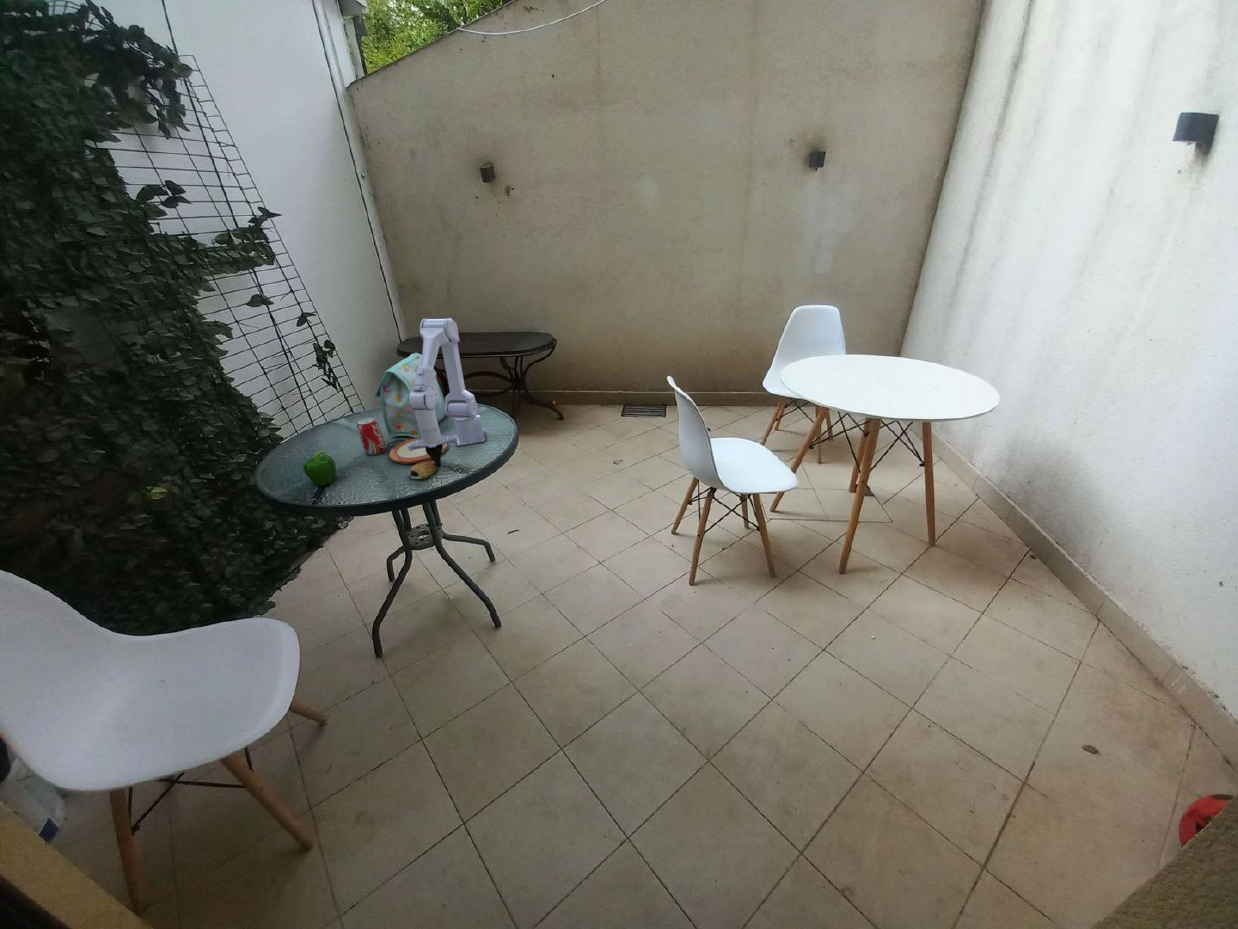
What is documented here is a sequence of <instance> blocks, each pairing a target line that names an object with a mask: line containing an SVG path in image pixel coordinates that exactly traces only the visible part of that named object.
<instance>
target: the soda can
mask: <svg viewBox="0 0 1238 929" xmlns="http://www.w3.org/2000/svg"><path fill="white" fill-rule="evenodd" d="M356 424H357V425H356V430H357V434H358V436H359V437H358V438H359V439H360V443H361V445H362V448H363V450H364V452H365V454H367V455H371V456H375V455H378V454H381V453H383V452H384V451H385V450H386V448H387V446H386V442H385V439H384V436H383V432H382V429H381V426H380V424H379V422H378V421H377V420H376V418H375V417H371V416H370V417H369V416H368V417H363V418H360V419H359V420H357V421H356Z"/></svg>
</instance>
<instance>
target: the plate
mask: <svg viewBox="0 0 1238 929" xmlns="http://www.w3.org/2000/svg"><path fill="white" fill-rule="evenodd" d="M419 440H422V437H420V438H415V437H414V438H411V439H408V440H406V441H402V442H401V443H399V444H397V445H396V446H394V447H393V448H392V449H391V450H390V451H389V458H390V460H391V461H392V462H394V463H398V464H403V465H404V464H406V465H408V464H418V463H422V462H427V461H430V460H433V459H432V458H431V457H430V456H429V455H428V454H427V453H426V449H425V448H420V449H414V450H413V451H409V448H408V443H412V442H416V441H419ZM447 448H448V444H443V448H442V453H441V454H443V453H444V452H445V451H446V450H447Z"/></svg>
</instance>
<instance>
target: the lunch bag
mask: <svg viewBox="0 0 1238 929" xmlns="http://www.w3.org/2000/svg"><path fill="white" fill-rule="evenodd" d="M421 363H422V353H418V352H414V353H411V354H410V355H409V356H408V357H406V358H403V359H402V360H400V361H398V362H397V363H396V364H395V365H394V364H393V365H392V366H391V367H390V368H388V369H387V370H385V371H384V373H383V376H382V379H381V380H380V382H379V384H378V386H377V388H376V390H375V393H374V396H375V398H379V399H380V407H381V412H382V418H383V422H384V426H385V429H386V432H387V434H388V436H390V437H402V436H403V437H404V436H405V437H406V436H407V437H411V438H414V439H415V438H420V437H421V434H420V430H419V427H418V423H417V420H416V416H415V415H414V414H413V413H412V410H411V409H410V408H409V407H408V405H407V403H408V401H407V397H408V394H409V393H410V392H411V391H413V386H414V381H415V375H416V370H417V368H419V367H420V366H421ZM434 391H435V397H436V404H435V407H434V410H435V414H436V418H437V422H438V423H439V422H440V421H442V420H443V419H444V418H446V417H448V415H447V413H446V411H445V397H444V395H443V392H442V389H441V387H440V384H439V382H438V379H437V378H436V379H435V385H434Z"/></svg>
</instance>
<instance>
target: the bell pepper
mask: <svg viewBox="0 0 1238 929" xmlns="http://www.w3.org/2000/svg"><path fill="white" fill-rule="evenodd" d="M302 464H303V465H302V468H303V471H304V473H305V475H306V476H307V477H308V478H309V480H310V481H311V482H312V483H314V484H316V485H318V486H325V485H328V484H331V482H333V480H335V479H336V477H337V468H336V462H335V460H334V459H333V458H332V457H331V456H330V455H328V454H325V451H324V450H321V451H318V452H316V454H315V455H314V456H311V457H309V458H308V460H306V461H304V462H303V463H302Z"/></svg>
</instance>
